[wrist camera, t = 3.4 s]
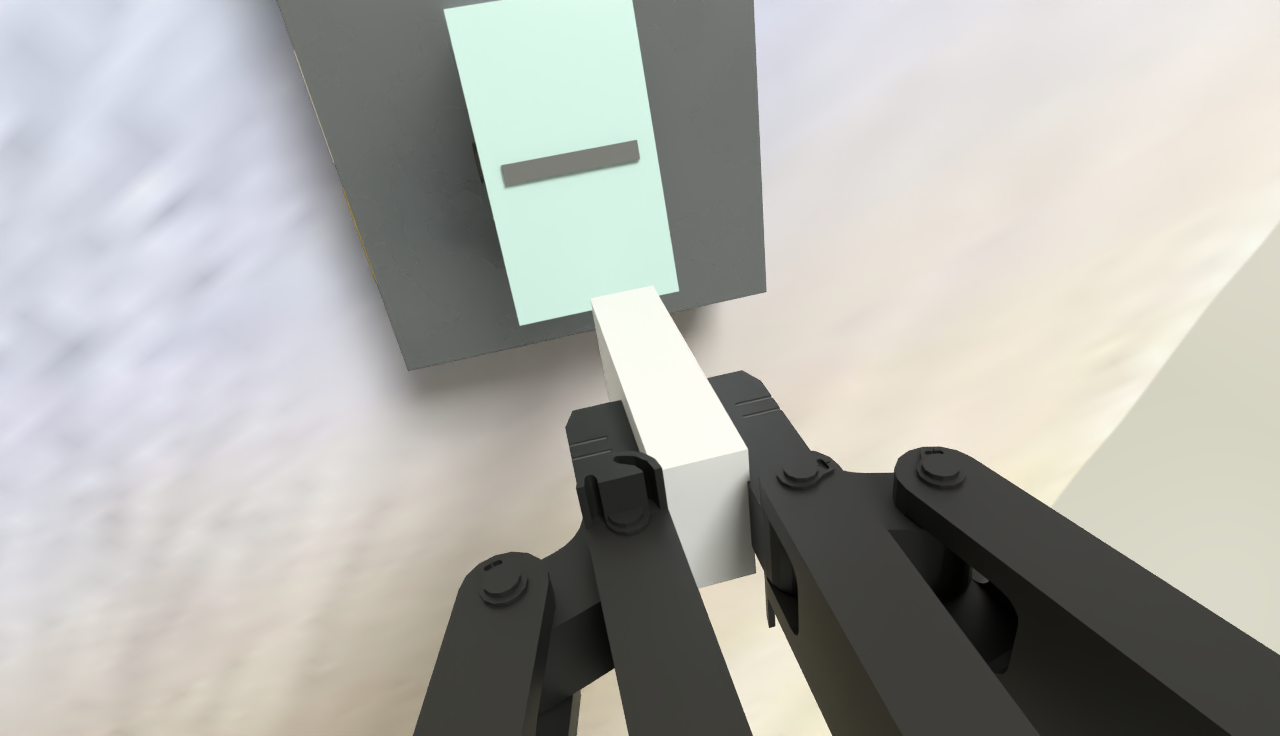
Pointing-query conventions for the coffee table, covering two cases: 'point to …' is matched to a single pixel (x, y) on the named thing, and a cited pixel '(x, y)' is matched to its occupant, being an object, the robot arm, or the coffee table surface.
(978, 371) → the coffee table surface
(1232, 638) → the robot arm
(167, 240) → the coffee table surface
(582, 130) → the switch
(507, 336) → the console
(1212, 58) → the coffee table surface
